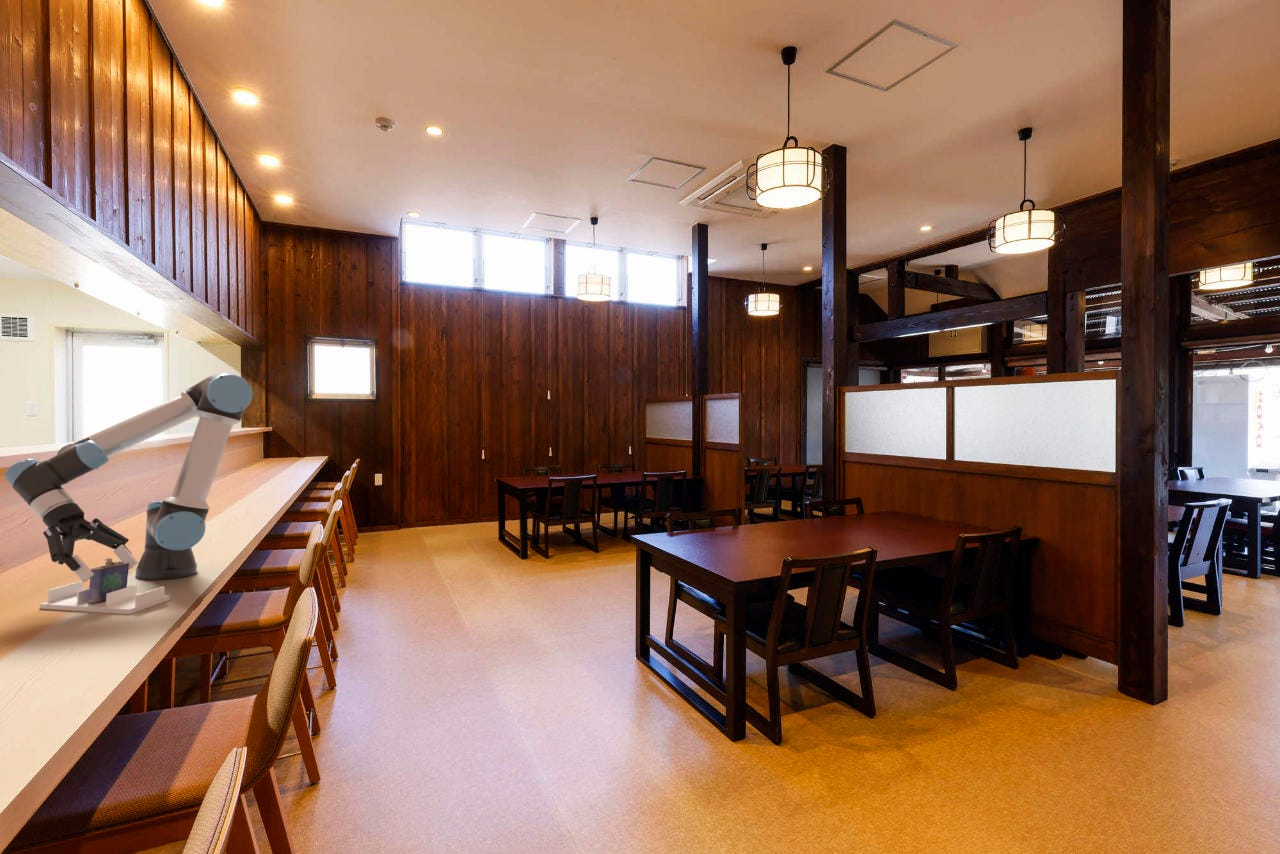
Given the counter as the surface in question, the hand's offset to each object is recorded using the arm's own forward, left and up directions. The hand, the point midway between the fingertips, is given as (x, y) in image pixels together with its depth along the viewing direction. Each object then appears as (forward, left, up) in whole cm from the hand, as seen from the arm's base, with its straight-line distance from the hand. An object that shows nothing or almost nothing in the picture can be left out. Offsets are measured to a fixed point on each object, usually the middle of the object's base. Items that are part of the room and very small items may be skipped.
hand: (112, 572), depth 159 cm
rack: (0, -1, -9) cm, 9 cm away
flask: (0, -1, -8) cm, 8 cm away
